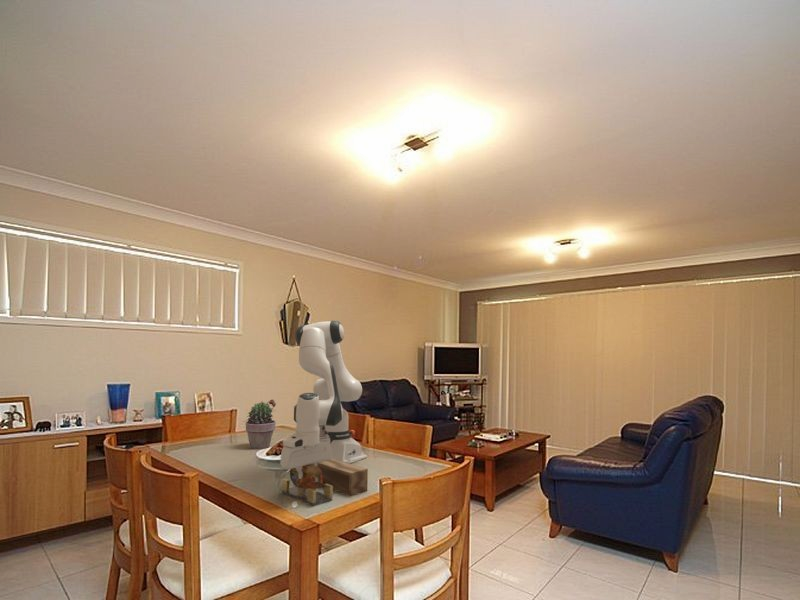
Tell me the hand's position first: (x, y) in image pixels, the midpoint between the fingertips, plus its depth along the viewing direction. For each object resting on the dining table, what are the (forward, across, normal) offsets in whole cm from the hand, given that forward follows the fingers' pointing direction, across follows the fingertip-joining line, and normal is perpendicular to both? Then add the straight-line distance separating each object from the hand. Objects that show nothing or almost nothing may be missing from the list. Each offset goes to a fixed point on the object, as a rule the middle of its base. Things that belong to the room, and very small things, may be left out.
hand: (306, 477), depth 164 cm
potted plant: (+7, -28, -85) cm, 90 cm away
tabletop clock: (+7, -50, -61) cm, 79 cm away
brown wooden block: (+7, -16, 0) cm, 17 cm away
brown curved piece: (+4, -1, 0) cm, 4 cm away
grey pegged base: (+7, 0, 0) cm, 7 cm away
